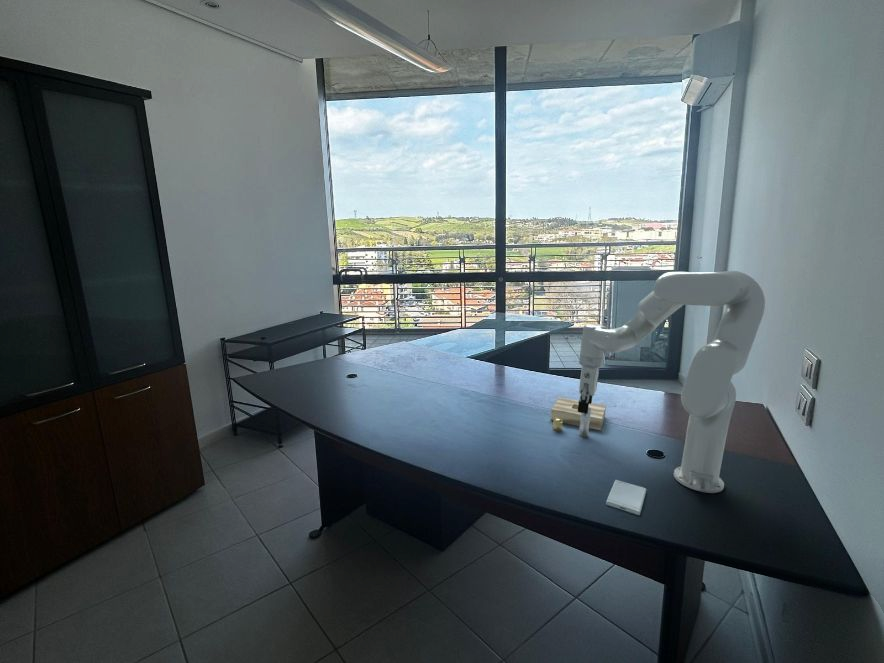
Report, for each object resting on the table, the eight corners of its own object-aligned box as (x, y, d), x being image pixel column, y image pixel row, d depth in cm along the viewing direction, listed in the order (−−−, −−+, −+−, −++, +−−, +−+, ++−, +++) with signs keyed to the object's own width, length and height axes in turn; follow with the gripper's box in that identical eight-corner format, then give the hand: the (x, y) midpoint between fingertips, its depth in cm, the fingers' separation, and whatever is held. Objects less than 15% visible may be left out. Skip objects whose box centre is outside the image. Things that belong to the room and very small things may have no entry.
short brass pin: (561, 432, 156) (562, 421, 155) (552, 430, 157) (552, 419, 156) (562, 428, 158) (563, 418, 157) (553, 426, 160) (554, 416, 159)
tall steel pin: (587, 437, 152) (590, 410, 150) (577, 435, 153) (580, 408, 151) (588, 434, 155) (591, 407, 152) (579, 432, 156) (582, 405, 154)
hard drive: (615, 479, 124) (606, 500, 114) (646, 488, 120) (640, 511, 110) (614, 484, 125) (605, 506, 114) (645, 493, 120) (639, 517, 110)
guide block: (600, 430, 158) (602, 418, 157) (550, 420, 165) (551, 408, 164) (604, 416, 170) (606, 405, 169) (557, 407, 178) (558, 397, 177)
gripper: (599, 369, 139) (592, 419, 143) (605, 356, 154) (598, 401, 158) (575, 365, 142) (569, 414, 146) (583, 352, 157) (577, 397, 161)
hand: (584, 407), depth 152 cm, fingers open, 9 cm apart
